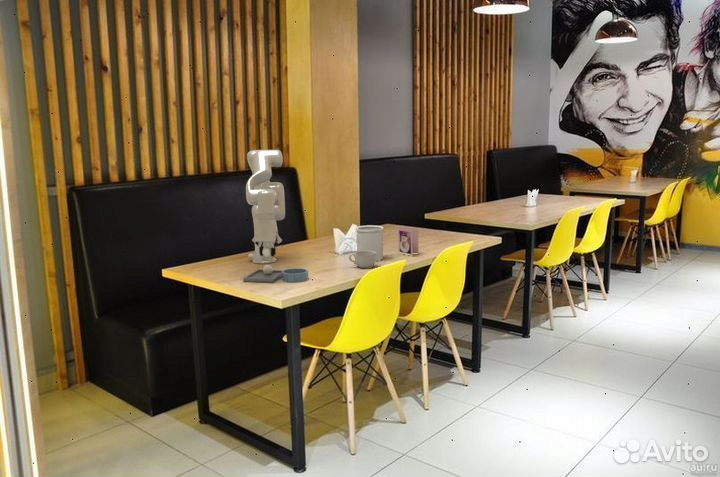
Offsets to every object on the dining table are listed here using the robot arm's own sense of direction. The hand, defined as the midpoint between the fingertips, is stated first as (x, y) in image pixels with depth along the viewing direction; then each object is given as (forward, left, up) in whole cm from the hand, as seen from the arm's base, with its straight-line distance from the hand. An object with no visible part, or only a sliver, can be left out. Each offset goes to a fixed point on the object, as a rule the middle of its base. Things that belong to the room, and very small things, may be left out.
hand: (267, 255), depth 300 cm
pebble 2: (-3, +8, -9) cm, 12 cm away
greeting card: (+57, +71, -12) cm, 92 cm away
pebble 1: (0, 0, +2) cm, 2 cm away
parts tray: (-3, +4, -12) cm, 13 cm away
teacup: (+38, +35, -12) cm, 53 cm away
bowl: (+12, +4, -12) cm, 17 cm away
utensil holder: (+38, +55, -12) cm, 68 cm away
